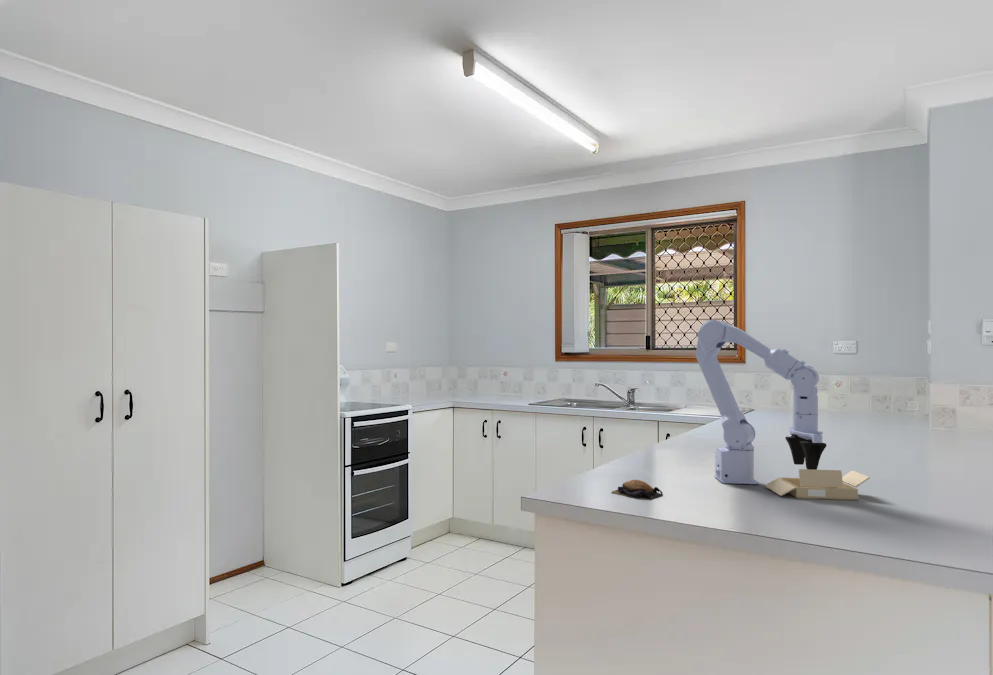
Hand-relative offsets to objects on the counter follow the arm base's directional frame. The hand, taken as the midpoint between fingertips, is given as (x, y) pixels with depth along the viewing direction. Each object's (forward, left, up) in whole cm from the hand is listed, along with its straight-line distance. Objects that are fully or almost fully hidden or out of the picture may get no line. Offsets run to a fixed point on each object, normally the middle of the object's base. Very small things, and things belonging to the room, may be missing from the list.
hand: (805, 467), depth 155 cm
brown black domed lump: (-44, -10, -7) cm, 45 cm away
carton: (-1, -2, -6) cm, 6 cm away
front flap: (0, -9, -1) cm, 9 cm away
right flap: (+10, -4, -2) cm, 11 cm away
